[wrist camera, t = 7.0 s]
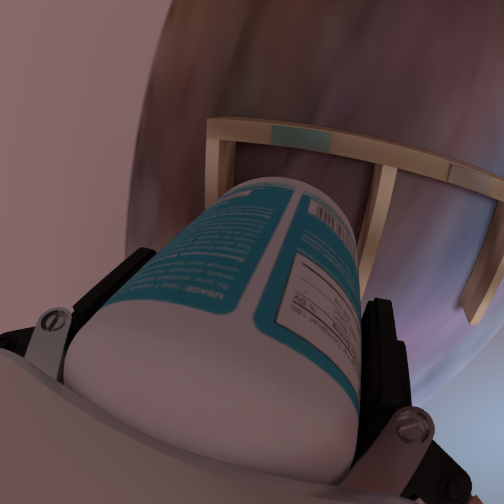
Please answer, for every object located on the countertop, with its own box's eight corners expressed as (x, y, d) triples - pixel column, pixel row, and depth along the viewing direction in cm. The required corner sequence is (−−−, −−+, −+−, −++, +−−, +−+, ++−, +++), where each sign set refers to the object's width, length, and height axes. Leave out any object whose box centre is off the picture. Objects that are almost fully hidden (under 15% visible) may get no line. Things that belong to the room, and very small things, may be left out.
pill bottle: (202, 279, 17) (55, 484, 5) (224, 153, 13) (-85, 368, 2) (325, 323, 16) (263, 576, 4) (382, 204, 12) (416, 608, 1)
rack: (226, 116, 18) (204, 118, 15) (511, 181, 13) (535, 196, 11) (221, 251, 23) (203, 274, 20) (466, 301, 18) (478, 328, 16)
